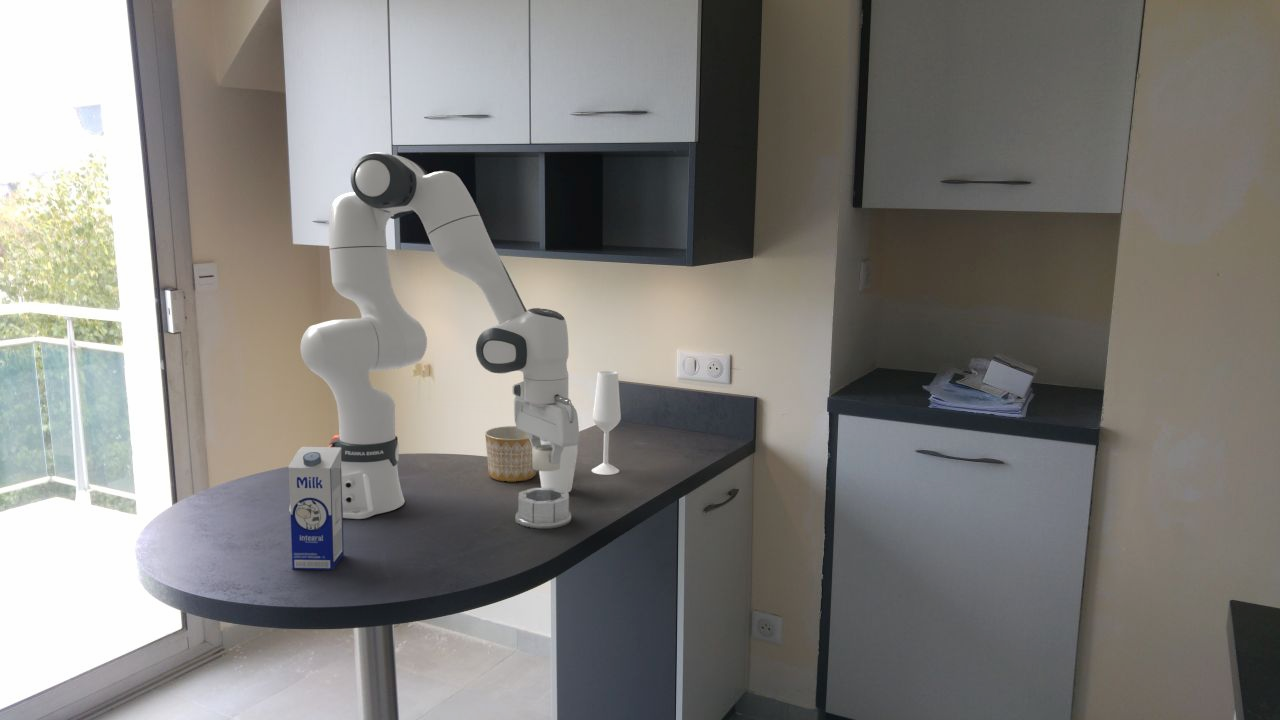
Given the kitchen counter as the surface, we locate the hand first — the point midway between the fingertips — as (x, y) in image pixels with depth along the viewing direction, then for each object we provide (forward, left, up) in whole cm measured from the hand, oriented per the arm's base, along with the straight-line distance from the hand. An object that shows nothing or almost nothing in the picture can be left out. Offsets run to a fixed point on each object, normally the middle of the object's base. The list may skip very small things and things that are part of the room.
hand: (546, 459), depth 180 cm
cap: (0, 0, -2) cm, 2 cm away
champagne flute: (+15, +34, -13) cm, 39 cm away
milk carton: (-39, -21, -13) cm, 46 cm away
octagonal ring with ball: (0, 0, -12) cm, 12 cm away
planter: (-7, +30, -13) cm, 33 cm away
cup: (+3, +19, -13) cm, 23 cm away
